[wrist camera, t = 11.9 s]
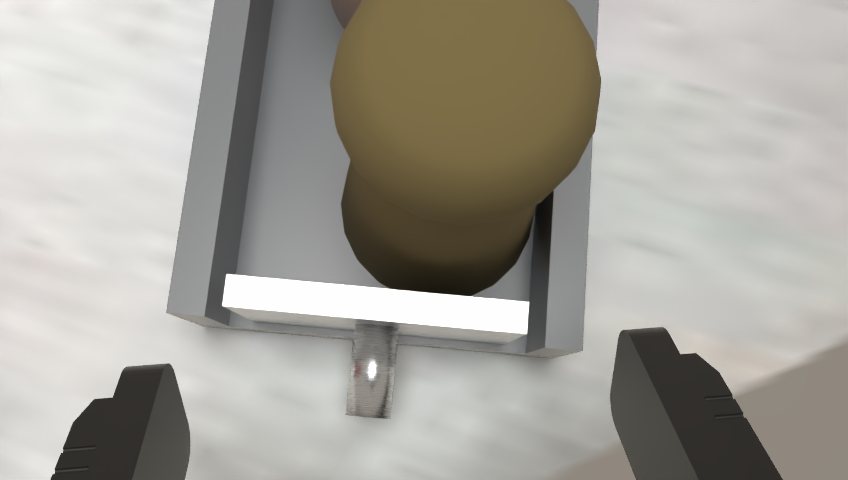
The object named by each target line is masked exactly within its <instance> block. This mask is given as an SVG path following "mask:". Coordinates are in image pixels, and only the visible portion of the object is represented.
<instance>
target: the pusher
mask: <svg viewBox="0 0 848 480" xmlns="http://www.w3.org/2000/svg"><path fill="white" fill-rule="evenodd" d="M222 306H223V307H225V308H227V309H229V310H231V311H233V312H235V313H237V314H239V315H241V316H243V317H244V318H246V319H248V320H250V321H255V322H266V323H277V324H288V325H299V326H310V327H321V328H331V329H342V330H353V331H354V340H353V349H352V359H351V368H350V377H349V387H348V396H347V406H346V415H351V416H361V417H372V418H386V419H390V416H391V405H392V395H393V384H394V374H395V363H396V352H397V342H398V335H408V336H419V337H430V338H440V339H451V340H462V341H473V342H484V343H495V344H506V343H508V342H511V341H513V340H515V339H517V338H519V337H521V336H524V335H526V334H527V325H528V309H529V302H522V301H511V300H500V299H490V298H479V297H468V296H457V295H447V294H436V293H425V292H414V291H404V290H393V289H382V288H371V287H360V286H350V285H339V284H328V283H317V282H307V281H296V280H285V279H274V278H264V277H253V276H242V275H231V274H227V275H226V282H225V289H224V296H223V304H222Z"/></svg>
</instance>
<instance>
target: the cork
mask: <svg viewBox="0 0 848 480" xmlns="http://www.w3.org/2000/svg"><path fill="white" fill-rule="evenodd" d="M600 87H601V77H600V72H599V67H598V62H597V57H596V52H595V47H594V42H593V40H592V38H591V36H590V34H589V32H588V31H587V29H586V27H585V25H584V24H583V22H582V20H581V18H580V17H579V15H578V13H577V11H576V9H575V8H574V6H573V5H572V4H570V3H569V2H568V1H567V0H362V2H361V3H360V5H359V7H358V8H357V10H356V12H355V13H354V15H353V17H352V18H351V20H350V22H349V23H348V25H347V27H346V28H345V30H344V32H343V33H342V36H341V38H340V41H339V43H338V47H337V51H336V56H335V61H334V65H333V70H332V75H331V80H330V88H331V96H332V104H333V112H334V120H335V126H336V129H337V133H338V135H339V137H340V139H341V141H342V143H343V146H344V148H345V150H346V152H347V154H348V156H349V158H350V164H349V168H348V172H347V176H346V181H345V186H344V191H343V195H342V200H341V209H342V217H343V225H344V233H345V235H346V237H347V240H348V242H349V244H350V246H351V248H352V250H353V252H354V254H355V256H356V258H357V260H358V261H359V262H360V263H361V265H362V266H363V267H364V268H365V269H366V270H367V271H368V272H369V273H370V274H371V275H372V276H373V277H374V278H375V279H376V280H377V281H378V282H379V283H381V284H383V285H384V286H386V287H388V288H390V289H393V290H404V291H414V292H425V293H436V294H447V295H457V296H468V297H470V296H472V295H475V294H477V293H479V292H481V291H483V290H485V289H487V288H489V287H491V286H493V285H495V284H496V283H497V282H498V281H499V280H500V279H501V278H502V277H503V276H504V275H505V274H506V273H507V272H508V271H509V270H510V269H511V268H512V267H513V266H514V265H515V264H516V263H517V261H518V259H519V257H520V255H521V253H522V251H523V249H524V247H525V245H526V243H527V241H528V239H529V237H530V232H531V227H532V222H533V218H534V213H535V208H536V205H537V204H539V203H541V202H542V201H543V200H544V199H545V198H546V197H547V196H548V195H549V194H550V193H551V192H552V191H553V190H554V189H555V188H556V187H557V186H558V185H559V184H560V183H561V182H562V181H563V180H564V179H566V178H567V177H568V176H569V175H570V173H571V172H572V171H573V170H574V169H575V168H576V167H577V165H578V163H579V161H580V159H581V157H582V155H583V153H584V151H585V149H586V147H587V145H588V143H589V141H590V139H591V137H592V135H593V133H594V131H595V126H596V119H597V111H598V104H599V97H600Z"/></svg>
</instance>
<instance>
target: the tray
mask: <svg viewBox="0 0 848 480" xmlns="http://www.w3.org/2000/svg"><path fill="white" fill-rule="evenodd" d="M567 1H568V2H569V3H570V4H572V5H573V6H574V8H575V9H576V11H577V13H578V15H579V17H580V18H581V20H582V22H583V24H584V25H585V27H586V29H587V31H588V32H589V34H590V36H591V38H592V40H593V42H594V47H595V52H596V50H597V29H598V7H599V0H567ZM344 30H345V29H344V28H343V27H342V25H341V24H340V22H339V20H338V19H337V17H336V15H335V12H334V10H333V7H332V4H331V0H215V3H214V9H213V15H212V22H211V28H210V35H209V41H208V48H207V54H206V60H205V67H204V73H203V80H202V86H201V92H200V99H199V105H198V112H197V118H196V124H195V131H194V137H193V144H192V150H191V157H190V163H189V169H188V176H187V182H186V189H185V195H184V201H183V208H182V214H181V221H180V227H179V233H178V240H177V246H176V253H175V259H174V266H173V272H172V278H171V285H170V291H169V298H168V304H167V310H166V313H168V314H171V315H174V316H177V317H179V318H182V319H185V320H188V321H190V322H193V323H196V324H199V325H201V326H207V327H218V328H229V329H240V330H250V331H261V332H272V333H283V334H294V335H305V336H316V337H327V338H338V339H349V340H354V331H353V330H342V329H331V328H321V327H310V326H299V325H288V324H277V323H266V322H255V321H250V320H248V319H246V318H244V317H243V316H241V315H239V314H237V313H235V312H233V311H231V310H229V309H227V308H225V307H223V306H222V304H223V296H224V289H225V282H226V275H227V274H231V275H242V276H253V277H264V278H274V279H285V280H296V281H307V282H317V283H328V284H339V285H350V286H360V287H371V288H382V289H390V288H388V287H386V286H384V285H383V284H381V283H379V282H378V281H377V280H376V279H375V278H374V277H373V276H372V275H371V274H370V273H369V272H368V271H367V270H366V269H365V268H364V267H363V266H362V265H361V263H360V262H359V261H358V260H357V258H356V256H355V254H354V252H353V250H352V248H351V246H350V244H349V242H348V240H347V237H346V235H345V233H344V225H343V217H342V209H341V200H342V195H343V191H344V186H345V181H346V176H347V172H348V168H349V164H350V158H349V156H348V154H347V152H346V150H345V148H344V146H343V143H342V141H341V139H340V137H339V135H338V133H337V129H336V126H335V120H334V112H333V104H332V96H331V88H330V80H331V75H332V70H333V65H334V61H335V56H336V51H337V47H338V43H339V41H340V38H341V36H342V33H343V32H344ZM592 136H593V135H592ZM591 158H592V137H591V139H590V141H589V143H588V145H587V147H586V149H585V151H584V153H583V155H582V157H581V159H580V161H579V163H578V165H577V167H576V168H575V169H574V170H573V171H572V172H571V173H570V175H569V176H568V177H567V178H566V179H564V180H563V181H562V182H561V183H560V184H559V185H558V186H557V187H556V188H555V189H554V190H553V191H552V192H551V193H550V194H549V195H548V196H547V197H546V198H545V199H544V200H543V201H542V202H541V203H539V204H537V205H536V208H535V213H534V218H533V222H532V227H531V232H530V237H529V239H528V241H527V243H526V245H525V247H524V249H523V251H522V253H521V255H520V257H519V259H518V261H517V263H516V264H515V265H514V266H513V267H512V268H511V269H510V270H509V271H508V272H507V273H506V274H505V275H504V276H503V277H502V278H501V279H500V280H499V281H498V282H497V283H496V284H495V285H493V286H491V287H489V288H487V289H485V290H483V291H481V292H479V293H477V294H475V295H472V296H470V297H479V298H490V299H500V300H511V301H522V302H529V309H528V325H527V334H526V335H524V336H521V337H519V338H517V339H515V340H513V341H511V342H508V343H506V344H495V343H484V342H473V341H462V340H451V339H440V338H430V337H419V336H408V335H398V342H397V344H404V345H414V346H425V347H436V348H447V349H458V350H469V351H480V352H491V353H502V354H513V355H524V356H535V357H546V358H555V357H559V356H563V355H567V354H572V353H576V352H580V351H583V331H584V309H585V287H586V266H587V244H588V223H589V201H590V180H591Z"/></svg>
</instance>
